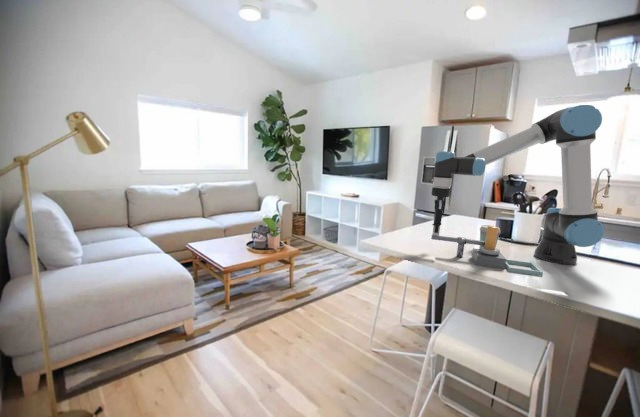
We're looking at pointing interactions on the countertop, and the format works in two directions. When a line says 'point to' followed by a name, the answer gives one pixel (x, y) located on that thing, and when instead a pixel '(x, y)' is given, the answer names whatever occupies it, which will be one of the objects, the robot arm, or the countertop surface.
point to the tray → (533, 272)
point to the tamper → (490, 242)
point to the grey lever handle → (459, 243)
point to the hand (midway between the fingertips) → (435, 239)
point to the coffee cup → (484, 231)
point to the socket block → (488, 259)
